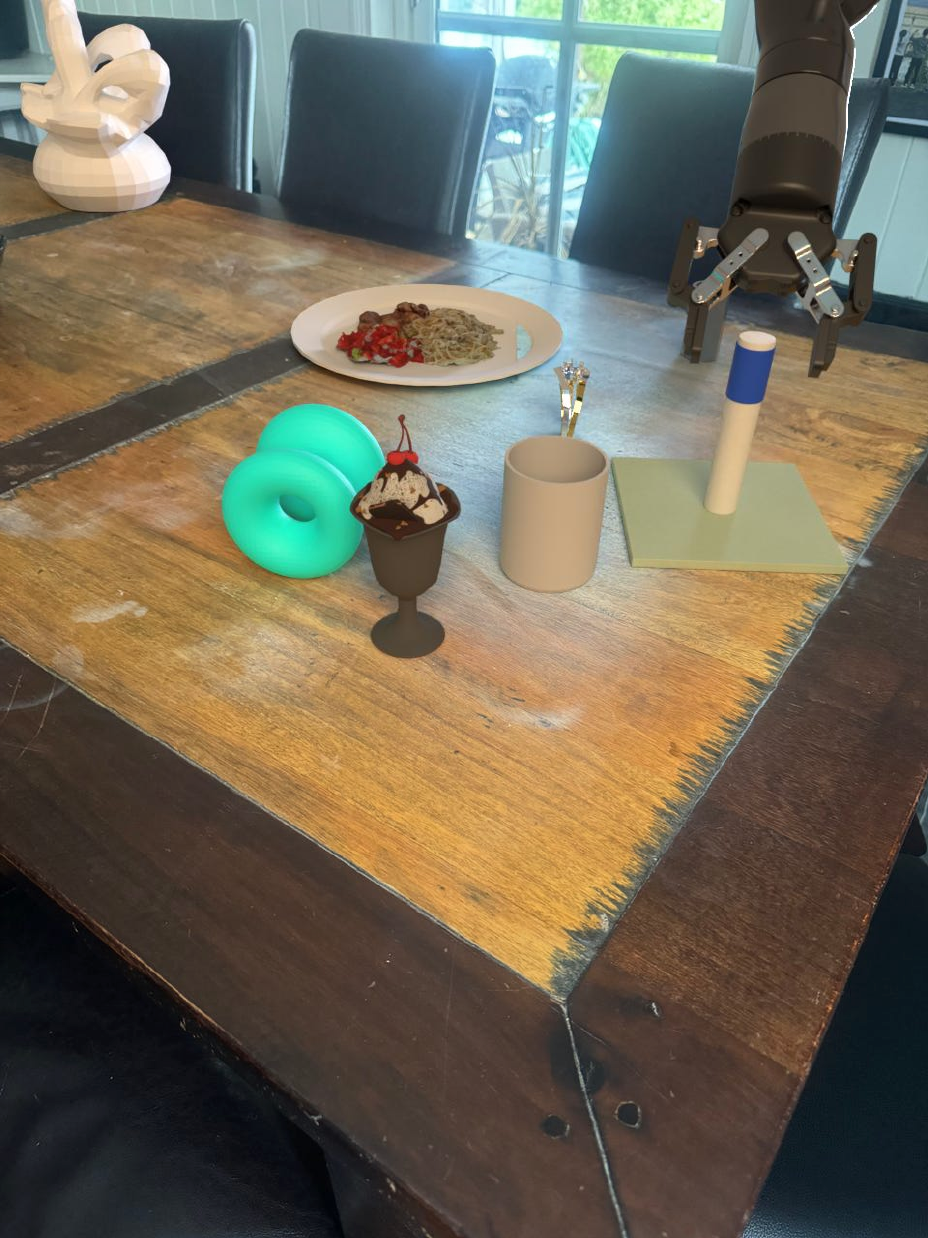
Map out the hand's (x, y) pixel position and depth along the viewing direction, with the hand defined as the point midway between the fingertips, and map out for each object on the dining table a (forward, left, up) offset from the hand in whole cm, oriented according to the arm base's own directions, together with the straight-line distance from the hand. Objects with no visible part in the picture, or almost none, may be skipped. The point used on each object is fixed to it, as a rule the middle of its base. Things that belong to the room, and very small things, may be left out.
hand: (754, 366), depth 66 cm
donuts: (+32, +7, -13) cm, 35 cm away
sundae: (+24, +17, -13) cm, 32 cm away
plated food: (+26, -35, -13) cm, 46 cm away
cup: (+14, +7, -13) cm, 20 cm away
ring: (+12, -11, -13) cm, 21 cm away
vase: (+81, -94, -13) cm, 125 cm away
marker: (0, 0, -12) cm, 12 cm away
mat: (0, 0, -13) cm, 13 cm away
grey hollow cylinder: (-4, -33, -13) cm, 36 cm away
